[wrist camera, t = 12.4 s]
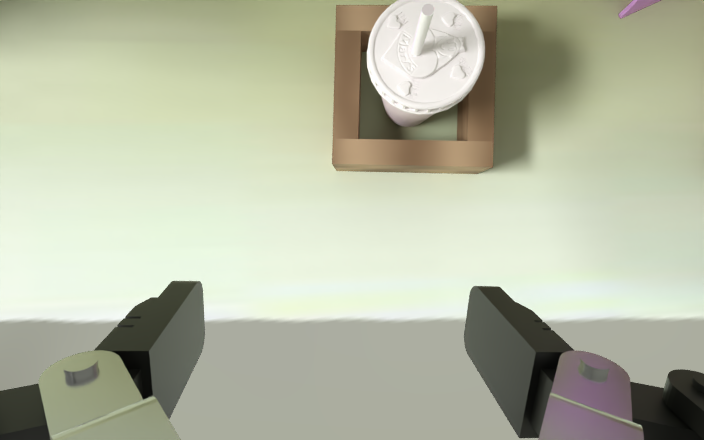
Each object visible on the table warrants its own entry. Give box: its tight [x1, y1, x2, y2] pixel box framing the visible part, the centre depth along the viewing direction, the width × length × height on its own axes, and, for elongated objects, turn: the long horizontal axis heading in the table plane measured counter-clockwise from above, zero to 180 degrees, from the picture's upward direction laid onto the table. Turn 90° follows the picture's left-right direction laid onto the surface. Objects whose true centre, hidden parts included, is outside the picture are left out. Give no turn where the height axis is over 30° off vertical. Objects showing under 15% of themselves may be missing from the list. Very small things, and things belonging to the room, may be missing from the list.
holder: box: [332, 5, 497, 174], centre depth 30 cm, size 11×11×4 cm
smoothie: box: [367, 0, 485, 127], centre depth 24 cm, size 6×6×14 cm
